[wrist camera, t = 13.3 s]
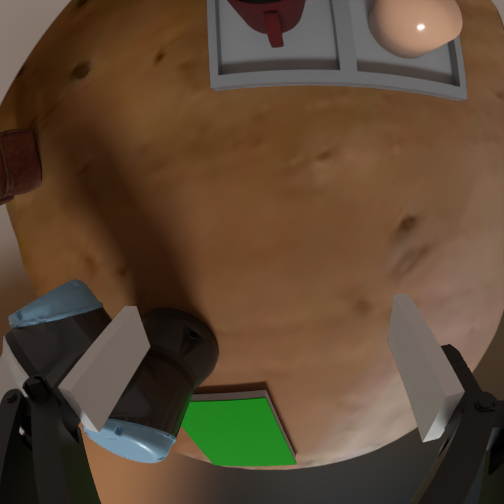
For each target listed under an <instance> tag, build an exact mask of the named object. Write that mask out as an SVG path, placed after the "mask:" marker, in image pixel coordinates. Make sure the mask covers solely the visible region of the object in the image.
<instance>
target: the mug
mask: <svg viewBox="0 0 504 504" xmlns="http://www.w3.org/2000/svg"><path fill="white" fill-rule="evenodd" d="M227 1H228V2H229V4H230V5H231V6H232V7H233V8H234V10H235V11H236V12H237V13H238V14H239V15H240V17H241V18H242V19H243V20H244V21H245V22H246V23H247V25H248V26H249V27H251V28H252V29H253V30H255V31H257V32H260V33H263V34H267V36H268V39H269V42H270V45H271V47H272V48H278V47H283V46H284V42H283V37H282V33H285V32H287V31H289V30H291V29H293V28H294V27H295V26H296V25H297V24H298V23H299V21H300V19H301V17H302V13H303V10H304V6H305V2H306V0H227Z"/></svg>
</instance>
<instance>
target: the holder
mask: <svg viewBox="0 0 504 504" xmlns="http://www.w3.org/2000/svg"><path fill="white" fill-rule="evenodd" d="M375 1H376V0H306V2H305V6H304V10H303V13H302V17H301V19H300V21H299V23H298V24H297V25H296V26H295V27H294V28H293V29H291V30H289V31H287V32H285V33H282V37H283V42H284V46H283V47H278V48H272V47H271V45H270V42H269V39H268V36H267V34H263V33H260V32H257V31H255V30H253V29H252V28H251V27H249V26H248V25H247V23H246V22H245V21H244V20H243V19H242V18H241V17H240V15H239V14H238V13H237V12H236V11H235V10H234V8H233V7H232V6H231V5H230V4H229V2H228V1H227V0H207V19H208V44H209V65H210V83H211V88H212V89H214V90H216V91H220V90H229V89H240V88H252V87H267V86H291V85H328V86H352V87H367V88H379V89H388V90H397V91H405V92H412V93H419V94H425V95H431V96H437V97H442V98H447V99H452V100H457V101H460V100H467V90H466V79H465V71H464V63H463V56H462V50H461V44H460V38H459V35H458V36H457V37H456V38H455V39H453V40H451V41H449V42H447V43H445V44H443V45H442V46H440V47H438V48H436V49H434V50H432V51H431V52H429V53H427V54H425V55H423V56H421V57H419V58H416V59H405V58H400V57H397V56H395V55H393V54H391V53H389V52H388V51H386V50H385V49H384V48H382V47H381V46H380V45H379V44H378V43H377V42H376V40H375V39H374V38H373V36H372V34H371V32H370V30H369V27H368V21H367V19H368V13H369V11H370V9H371V7H372V6H373V4H374V2H375Z"/></svg>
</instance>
